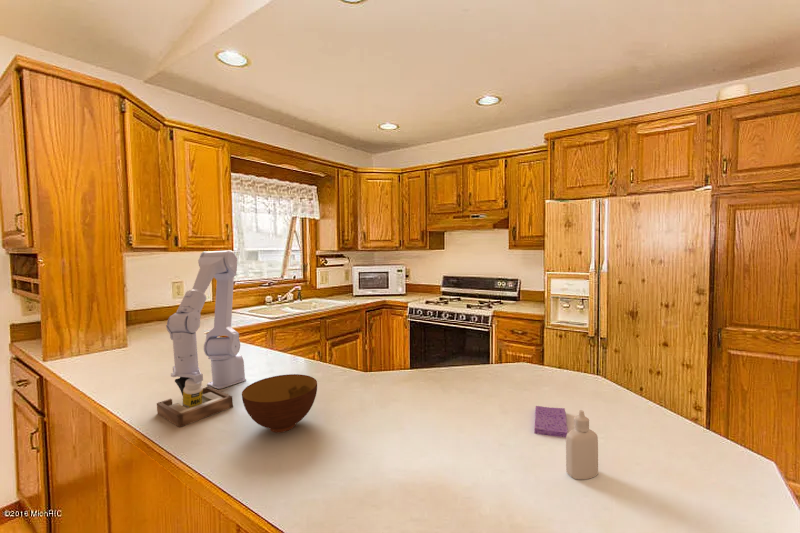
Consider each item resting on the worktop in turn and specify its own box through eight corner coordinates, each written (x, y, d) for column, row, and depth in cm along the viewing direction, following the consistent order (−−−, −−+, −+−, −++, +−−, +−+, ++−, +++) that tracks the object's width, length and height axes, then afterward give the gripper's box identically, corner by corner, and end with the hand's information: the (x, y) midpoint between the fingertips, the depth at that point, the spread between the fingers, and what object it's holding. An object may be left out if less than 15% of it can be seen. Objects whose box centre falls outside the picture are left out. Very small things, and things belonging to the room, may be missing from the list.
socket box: (209, 395, 113) (208, 386, 113) (232, 406, 104) (232, 396, 104) (157, 413, 102) (156, 403, 102) (179, 427, 93) (178, 415, 93)
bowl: (248, 454, 80) (245, 408, 79) (241, 420, 96) (238, 383, 95) (327, 432, 88) (325, 390, 87) (309, 404, 104) (307, 369, 103)
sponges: (534, 435, 84) (534, 427, 84) (535, 411, 96) (535, 404, 95) (568, 440, 81) (568, 432, 81) (565, 414, 93) (565, 407, 93)
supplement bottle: (190, 415, 100) (191, 388, 98) (178, 408, 102) (179, 382, 100) (205, 406, 105) (207, 380, 103) (194, 400, 106) (194, 374, 104)
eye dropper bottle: (564, 465, 72) (563, 404, 71) (596, 468, 70) (595, 407, 69) (567, 479, 67) (566, 415, 67) (601, 483, 66) (601, 417, 65)
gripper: (159, 354, 106) (163, 401, 106) (181, 363, 97) (185, 413, 98) (186, 348, 111) (189, 392, 112) (209, 355, 102) (212, 403, 103)
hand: (189, 401), depth 105 cm, fingers closed, pressing on supplement bottle
